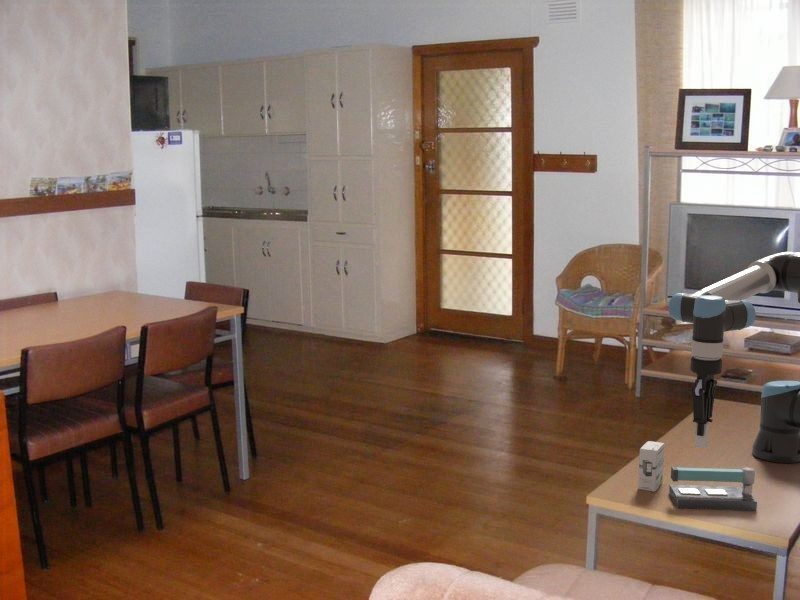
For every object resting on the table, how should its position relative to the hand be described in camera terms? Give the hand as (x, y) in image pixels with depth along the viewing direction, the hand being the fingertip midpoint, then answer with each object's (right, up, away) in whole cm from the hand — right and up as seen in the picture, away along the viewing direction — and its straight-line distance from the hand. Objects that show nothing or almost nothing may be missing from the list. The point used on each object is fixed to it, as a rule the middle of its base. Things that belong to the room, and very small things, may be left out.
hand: (701, 446), depth 242 cm
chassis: (+6, -16, +8) cm, 19 cm away
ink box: (-8, -14, +20) cm, 26 cm away
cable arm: (+5, -10, +7) cm, 14 cm away
